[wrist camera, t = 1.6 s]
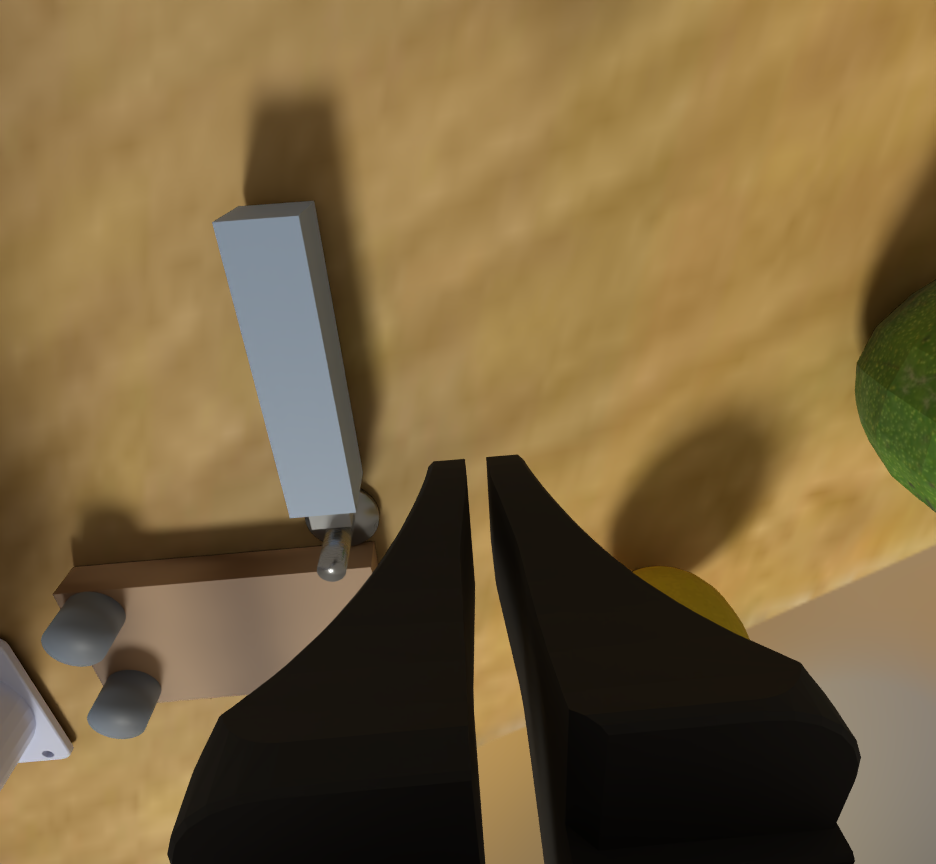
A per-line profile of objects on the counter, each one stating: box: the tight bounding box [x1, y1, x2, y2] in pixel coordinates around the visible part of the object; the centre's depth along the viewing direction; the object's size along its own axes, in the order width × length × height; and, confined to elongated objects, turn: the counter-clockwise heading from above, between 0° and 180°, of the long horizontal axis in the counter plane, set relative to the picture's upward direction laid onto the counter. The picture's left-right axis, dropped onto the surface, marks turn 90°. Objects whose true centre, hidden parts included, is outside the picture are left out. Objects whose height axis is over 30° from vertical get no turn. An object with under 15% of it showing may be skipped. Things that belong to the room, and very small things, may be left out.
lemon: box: [632, 566, 750, 640], centre depth 23 cm, size 6×6×8 cm
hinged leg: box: [212, 201, 363, 530], centre depth 19 cm, size 11×2×2 cm, turn 4°
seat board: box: [41, 542, 378, 739], centre depth 24 cm, size 12×7×3 cm, turn 94°
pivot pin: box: [305, 489, 379, 582], centre depth 22 cm, size 3×3×3 cm
